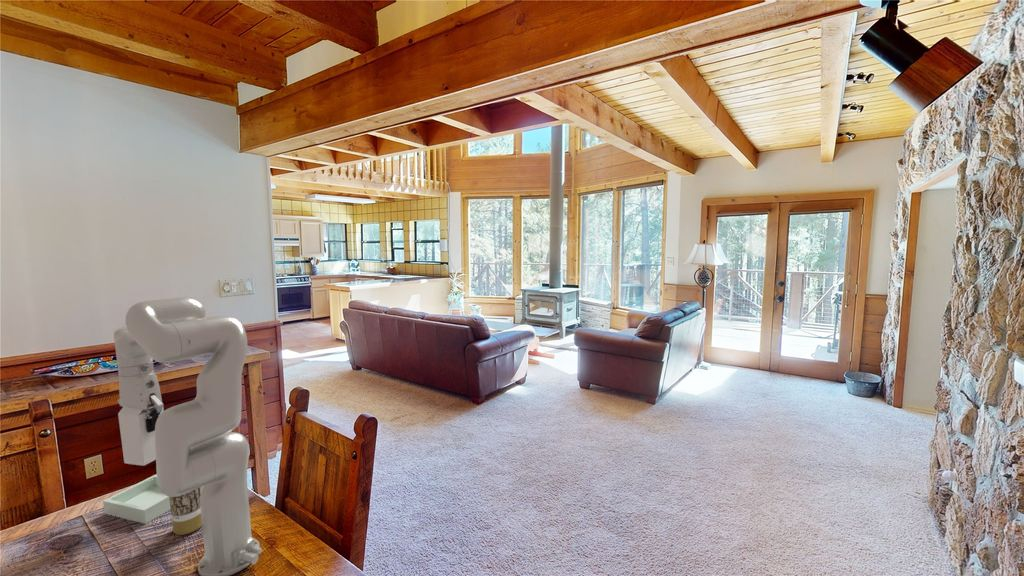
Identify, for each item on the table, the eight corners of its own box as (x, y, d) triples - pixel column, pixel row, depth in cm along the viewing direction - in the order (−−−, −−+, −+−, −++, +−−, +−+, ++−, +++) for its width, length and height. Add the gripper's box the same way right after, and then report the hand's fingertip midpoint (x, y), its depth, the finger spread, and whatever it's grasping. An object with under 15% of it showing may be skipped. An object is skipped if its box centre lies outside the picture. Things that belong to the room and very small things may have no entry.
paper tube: (184, 538, 111) (175, 448, 108) (167, 533, 113) (157, 444, 110) (210, 522, 118) (202, 436, 114) (193, 517, 120) (184, 433, 117)
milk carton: (144, 466, 120) (136, 401, 117) (124, 463, 121) (115, 399, 119) (168, 453, 127) (162, 392, 124) (149, 451, 128) (142, 390, 126)
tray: (195, 494, 130) (194, 482, 130) (146, 523, 117) (144, 510, 116) (157, 486, 135) (155, 474, 134) (104, 513, 121) (103, 500, 121)
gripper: (172, 367, 122) (179, 426, 124) (129, 363, 127) (135, 420, 129) (144, 376, 115) (151, 438, 117) (98, 371, 119) (106, 431, 122)
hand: (143, 428), depth 123 cm, fingers closed on milk carton, 7 cm apart
